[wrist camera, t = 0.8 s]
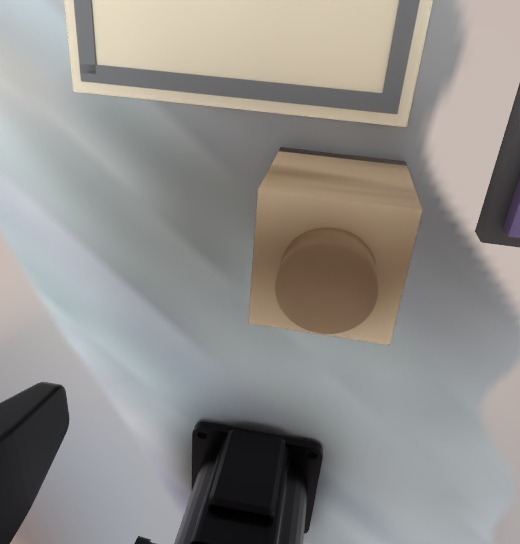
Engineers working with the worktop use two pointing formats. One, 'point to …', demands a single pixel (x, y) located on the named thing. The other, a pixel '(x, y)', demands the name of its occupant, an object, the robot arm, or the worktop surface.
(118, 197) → the worktop surface
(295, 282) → the stamp
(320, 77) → the cream square plate
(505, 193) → the ink pad
